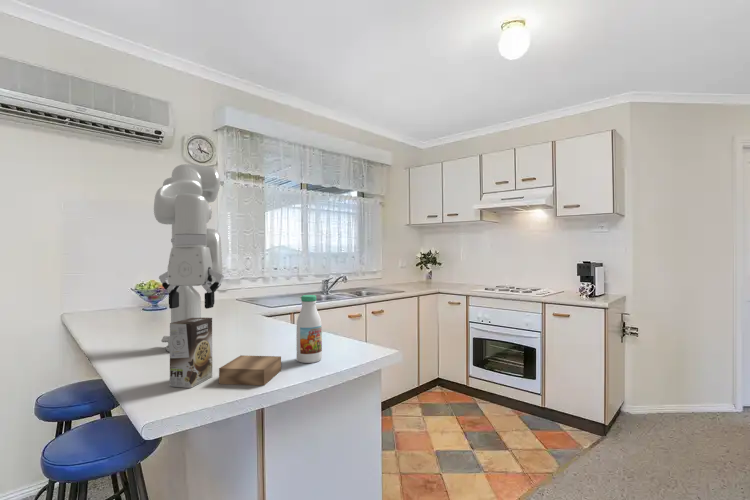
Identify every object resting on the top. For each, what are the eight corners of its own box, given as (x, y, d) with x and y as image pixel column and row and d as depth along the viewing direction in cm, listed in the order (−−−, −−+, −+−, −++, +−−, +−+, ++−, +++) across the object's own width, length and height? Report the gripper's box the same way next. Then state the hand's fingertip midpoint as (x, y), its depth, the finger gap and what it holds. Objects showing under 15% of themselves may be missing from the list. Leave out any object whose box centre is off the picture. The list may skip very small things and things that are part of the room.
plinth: (219, 383, 99) (219, 368, 99) (240, 369, 111) (240, 355, 111) (264, 385, 98) (264, 369, 98) (281, 370, 110) (281, 356, 110)
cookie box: (191, 388, 96) (190, 323, 96) (168, 387, 97) (168, 322, 97) (213, 376, 105) (213, 317, 105) (192, 375, 106) (192, 316, 106)
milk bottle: (291, 362, 118) (291, 296, 118) (304, 355, 125) (304, 293, 125) (314, 364, 115) (313, 297, 115) (326, 357, 122) (325, 294, 122)
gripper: (150, 242, 98) (150, 310, 98) (214, 240, 96) (215, 310, 96) (169, 243, 105) (169, 306, 105) (229, 241, 104) (230, 306, 103)
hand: (191, 307), depth 101 cm, fingers open, 9 cm apart
